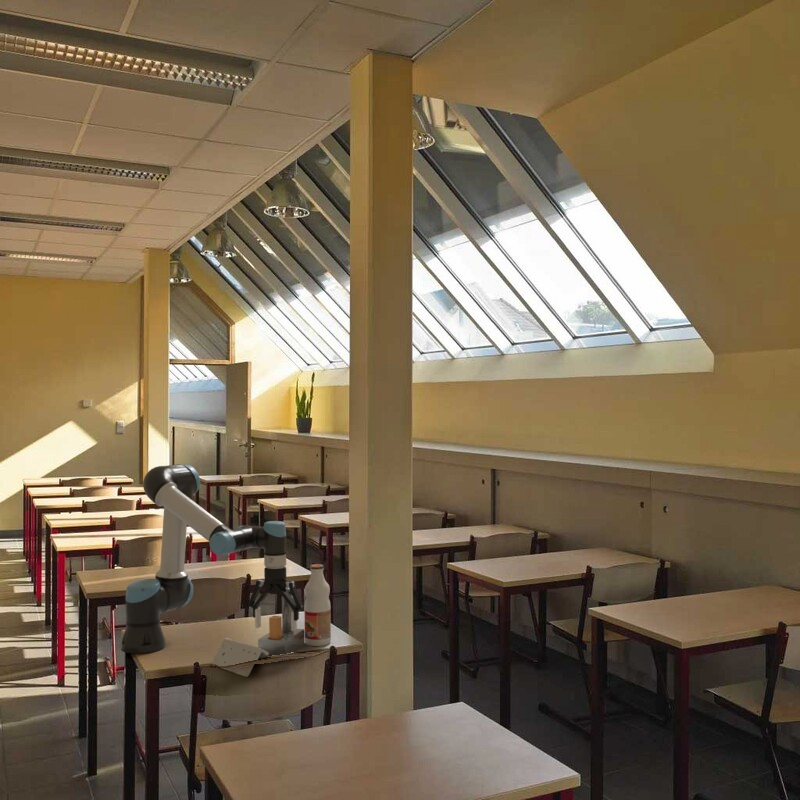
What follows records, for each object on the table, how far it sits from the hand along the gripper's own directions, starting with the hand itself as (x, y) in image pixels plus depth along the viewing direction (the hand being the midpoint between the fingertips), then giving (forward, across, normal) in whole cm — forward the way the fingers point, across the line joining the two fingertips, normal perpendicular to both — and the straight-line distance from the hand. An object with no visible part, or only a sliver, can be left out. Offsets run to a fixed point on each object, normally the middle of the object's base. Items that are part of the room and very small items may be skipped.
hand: (275, 628), depth 284 cm
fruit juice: (+9, +8, +18) cm, 21 cm away
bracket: (+10, -4, -13) cm, 17 cm away
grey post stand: (+9, 0, +4) cm, 10 cm away
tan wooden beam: (+9, 0, 0) cm, 9 cm away
